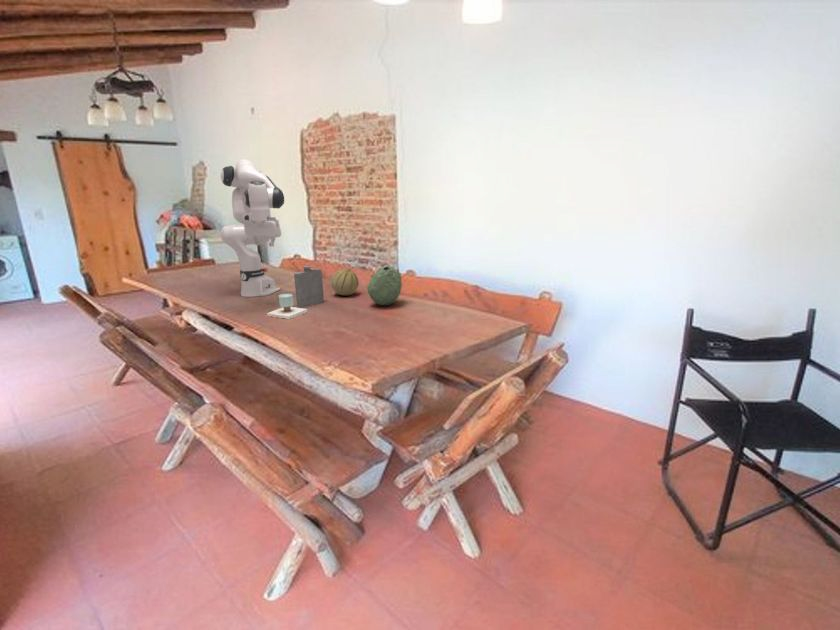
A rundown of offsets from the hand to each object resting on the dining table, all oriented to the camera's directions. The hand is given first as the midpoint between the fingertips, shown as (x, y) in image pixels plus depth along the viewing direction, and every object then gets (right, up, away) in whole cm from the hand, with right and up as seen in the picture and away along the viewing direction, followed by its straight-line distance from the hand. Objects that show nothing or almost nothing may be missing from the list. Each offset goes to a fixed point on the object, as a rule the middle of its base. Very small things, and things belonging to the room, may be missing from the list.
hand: (264, 245), depth 212 cm
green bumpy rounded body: (+58, -29, +11) cm, 66 cm away
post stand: (+12, -33, -2) cm, 35 cm away
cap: (+12, -29, -4) cm, 31 cm away
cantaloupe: (+34, -23, +31) cm, 51 cm away
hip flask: (+19, -28, +14) cm, 37 cm away
